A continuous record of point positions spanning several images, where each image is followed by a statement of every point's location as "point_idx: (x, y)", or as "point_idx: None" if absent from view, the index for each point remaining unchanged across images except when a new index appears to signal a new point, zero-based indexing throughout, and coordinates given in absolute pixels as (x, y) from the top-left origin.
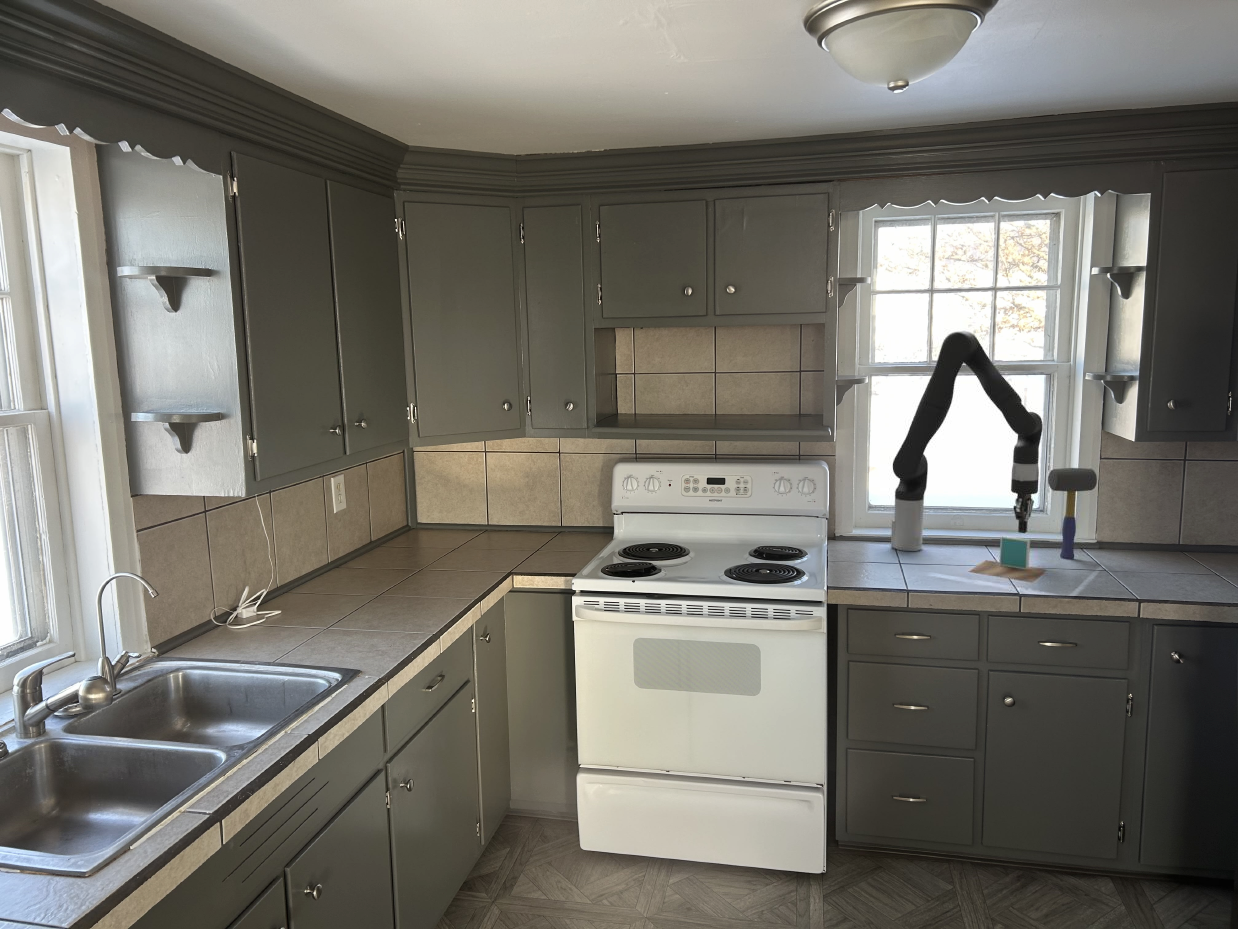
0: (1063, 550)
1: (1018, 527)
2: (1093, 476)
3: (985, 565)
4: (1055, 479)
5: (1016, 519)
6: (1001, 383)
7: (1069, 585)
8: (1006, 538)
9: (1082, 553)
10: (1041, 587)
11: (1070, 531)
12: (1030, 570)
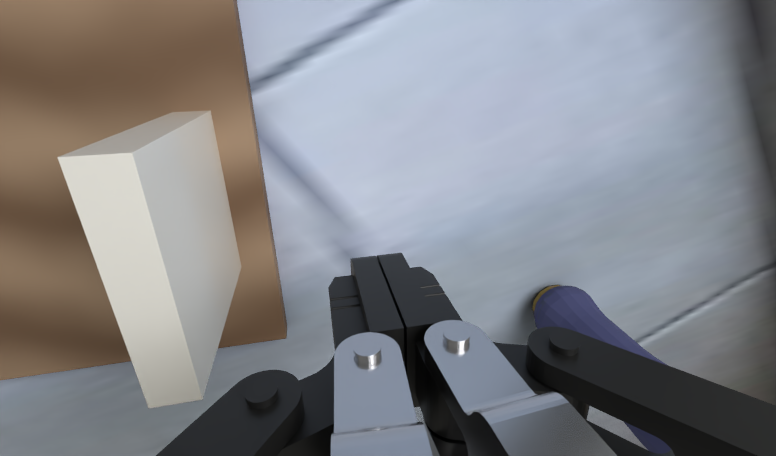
0: (565, 325)
1: (355, 282)
2: None
3: (71, 33)
4: None
5: (242, 384)
6: None
7: (168, 444)
8: (86, 218)
9: (698, 294)
10: (16, 397)
11: (638, 437)
12: None
